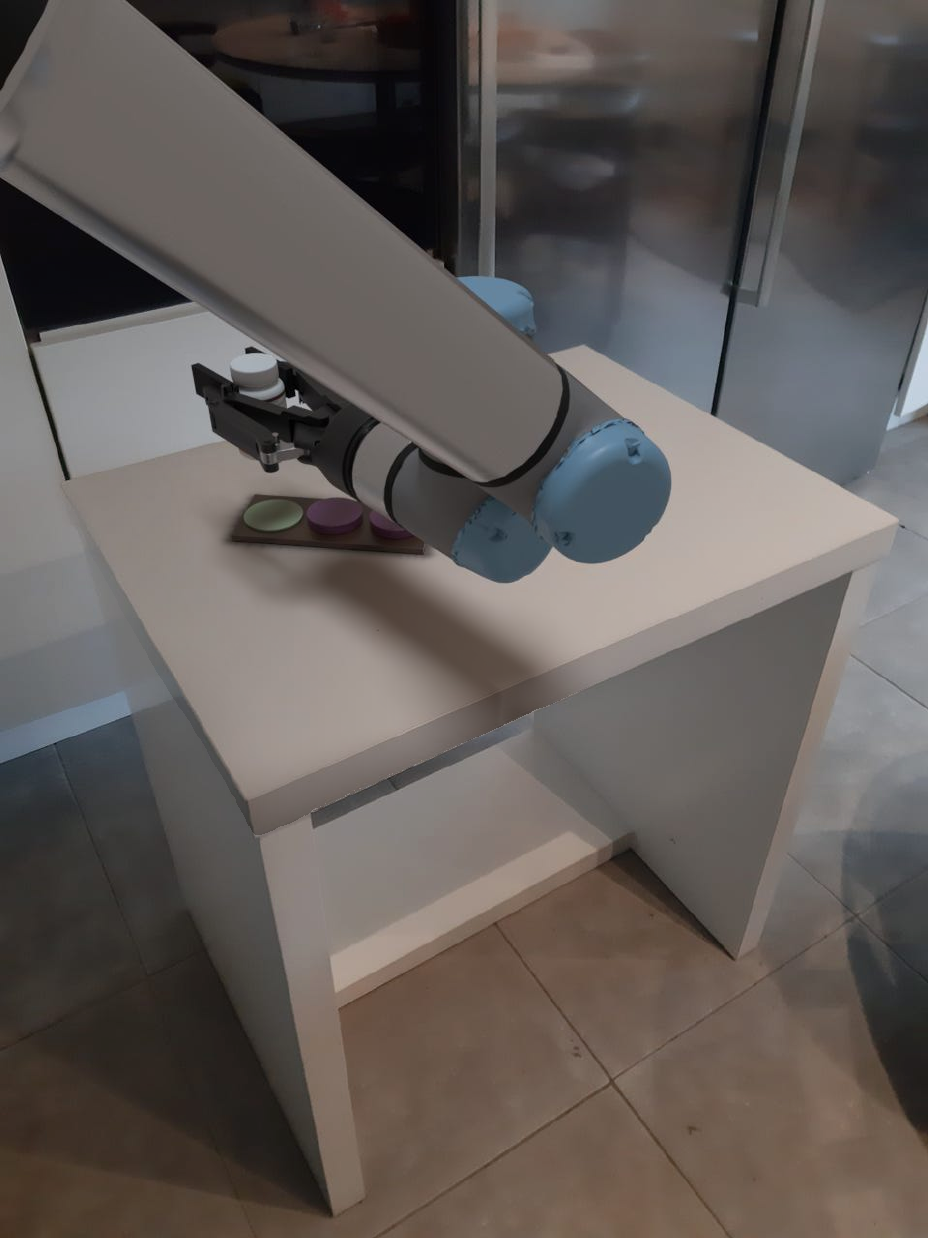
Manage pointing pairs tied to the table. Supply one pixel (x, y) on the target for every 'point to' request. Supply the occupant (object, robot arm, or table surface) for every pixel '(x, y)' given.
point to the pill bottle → (258, 380)
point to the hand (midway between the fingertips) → (224, 369)
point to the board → (322, 525)
